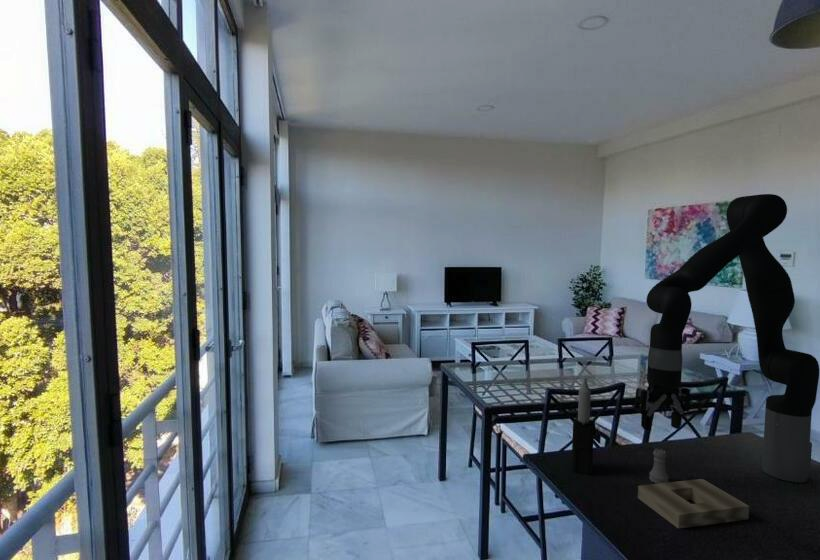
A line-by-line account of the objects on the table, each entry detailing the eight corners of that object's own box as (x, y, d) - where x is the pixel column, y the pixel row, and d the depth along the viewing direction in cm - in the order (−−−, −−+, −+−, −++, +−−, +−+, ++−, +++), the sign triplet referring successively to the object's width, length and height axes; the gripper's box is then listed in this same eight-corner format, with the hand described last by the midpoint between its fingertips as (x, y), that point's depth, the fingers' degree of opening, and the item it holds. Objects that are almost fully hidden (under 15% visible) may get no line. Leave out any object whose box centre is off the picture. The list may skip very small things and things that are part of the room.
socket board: (701, 490, 108) (702, 478, 108) (748, 519, 97) (749, 506, 97) (637, 497, 105) (638, 485, 105) (678, 528, 93) (679, 514, 93)
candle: (592, 467, 120) (596, 376, 118) (591, 476, 115) (595, 381, 114) (572, 463, 122) (575, 374, 120) (570, 471, 117) (574, 378, 116)
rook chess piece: (671, 486, 110) (673, 455, 110) (652, 484, 111) (653, 453, 111) (665, 477, 115) (666, 447, 114) (646, 475, 115) (647, 446, 115)
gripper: (676, 361, 116) (673, 421, 117) (629, 362, 113) (626, 424, 114) (700, 368, 109) (697, 432, 110) (651, 370, 106) (647, 436, 107)
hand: (660, 428), depth 112 cm, fingers open, 8 cm apart
